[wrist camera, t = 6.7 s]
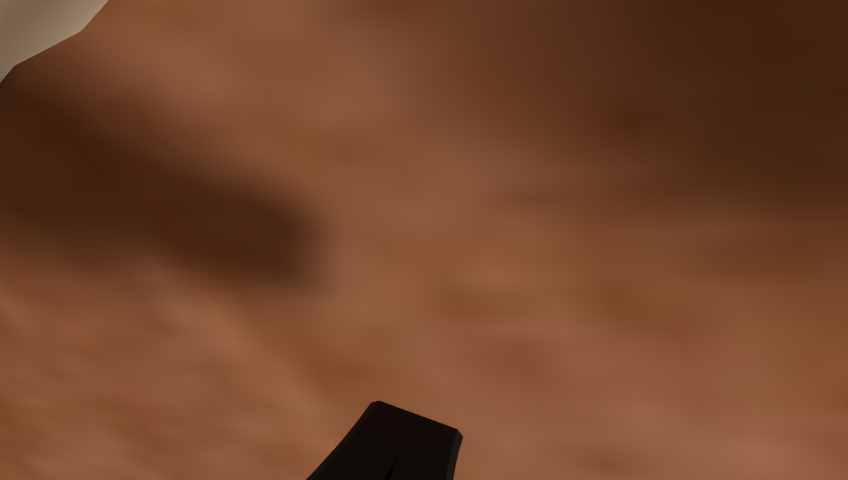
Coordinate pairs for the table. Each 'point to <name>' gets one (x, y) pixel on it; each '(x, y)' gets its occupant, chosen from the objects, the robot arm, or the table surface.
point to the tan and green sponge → (40, 25)
